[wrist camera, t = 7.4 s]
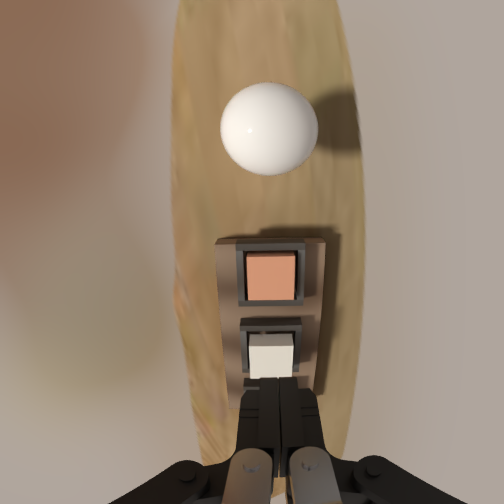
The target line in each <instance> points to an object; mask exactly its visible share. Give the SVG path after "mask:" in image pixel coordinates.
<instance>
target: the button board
mask: <svg viewBox="0 0 504 504" xmlns="http://www.w3.org/2000/svg"><path fill="white" fill-rule="evenodd" d="M325 246H326V243H325V241H324V240H323V239H322V237H304V238H238V239H217V241H216V243H215V260H216V274H217V287H218V299H219V311H220V322H221V333H222V344H223V354H224V364H225V373H226V383H227V392H228V400H229V409H240V401H241V397H242V396H243V394H244V393H245V392H246V390H260V379H250V359H249V340H250V334H292V338H293V364H292V377H297V382H298V389H302V388H310V389H311V390H312V392H313V385H314V377H315V369H316V361H317V352H318V342H319V332H320V321H321V310H322V297H323V283H324V266H325ZM267 250H293V252H294V255H295V277H294V300H248V281H247V252H248V251H267ZM278 386H279V378H278Z"/></svg>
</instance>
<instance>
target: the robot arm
mask: <svg viewBox="0 0 504 504" xmlns="http://www.w3.org/2000/svg"><path fill="white" fill-rule="evenodd" d="M278 470H280V477H286V490H285V497H286V504H467V503H465V502H463V501H460V500H459V499H457V498H455V497H453V496H451V495H448V494H447V493H445V492H443V491H441V490H439V489H437V488H435V487H433V486H432V485H430V484H428V483H426V482H424V481H423V480H421V479H419V478H417V477H416V476H414V475H412V474H410V473H409V472H407V471H405V470H404V469H402V468H400V467H398V466H397V465H395V464H394V463H392V462H390V461H389V460H387V459H386V458H384V457H381V456H376V455H372V456H367V457H364V458H362V459H361V460H359V461H358V462H355V461H347V460H341V459H338V458H336V457H334V456H332V455H331V454H330V453H329V452H328V451H327V450H326V448H325V444H324V439H323V432H322V427H321V421H320V416H319V409H318V403H317V398H316V396H315V394H314V393H313V392H312V390H311V389H310V388H302V389H298V382H297V377H279V386H278V377H260V390H246V392H245V393H244V394H243V396H242V397H241V401H240V412H239V422H238V432H237V442H236V450H235V452H234V454H233V455H232V456H231V457H230V458H229V459H228V460H226V461H224V462H222V463H219V464H214V465H209V466H203V465H201V464H200V463H198V462H195V461H191V460H184V461H179V462H177V463H175V464H173V465H172V466H170V467H169V468H167V469H166V470H164V471H163V472H161V473H159V474H158V475H156V476H155V477H153V478H152V479H150V480H148V481H147V482H145V483H144V484H142V485H140V486H139V487H137V488H135V489H134V490H132V491H130V492H129V493H127V494H125V495H123V496H121V497H120V498H118V499H116V500H114V501H112V502H111V503H109V504H270V499H271V494H272V492H273V482H274V477H278Z"/></svg>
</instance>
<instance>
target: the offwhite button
mask: <svg viewBox="0 0 504 504" xmlns="http://www.w3.org/2000/svg"><path fill="white" fill-rule="evenodd" d="M249 359H250V379H260V377H278V378H279V377H292V364H293V338H292V334H250V340H249Z"/></svg>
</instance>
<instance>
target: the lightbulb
mask: <svg viewBox="0 0 504 504" xmlns="http://www.w3.org/2000/svg"><path fill="white" fill-rule="evenodd" d="M220 133H221V139H222V142H223V145H224V147H225V150H226V151H227V153H228V155H229V156H230V157H231V158H232V160H233V161H234V162H235V163H236V164H238V165H239V166H240V167H242V168H243V169H245V170H247V171H249V172H251V173H254V174H258V175H263V176H276V175H282V174H285V173H288V172H291V171H293V170H295V169H296V168H298V167H299V166H301V165H302V164H303V163H304V162H305V161H306V160H307V159H308V158H309V156H310V155H311V153H312V152H313V150H314V148H315V145H316V142H317V138H318V121H317V117H316V114H315V111H314V109H313V107H312V106H311V104H310V102H309V101H308V100H307V99H306V98H305V97H304V96H303V95H302V94H301V93H300V92H299V91H297V90H296V89H294V88H292V87H290V86H288V85H285V84H281V83H276V82H261V83H256V84H253V85H250V86H248V87H246V88H244V89H242V90H241V91H239V92H238V93H237V94H235V95H234V96H233V97H232V98H231V100H230V101H229V102H228V104H227V105H226V107H225V109H224V111H223V114H222V118H221V124H220Z"/></svg>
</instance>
